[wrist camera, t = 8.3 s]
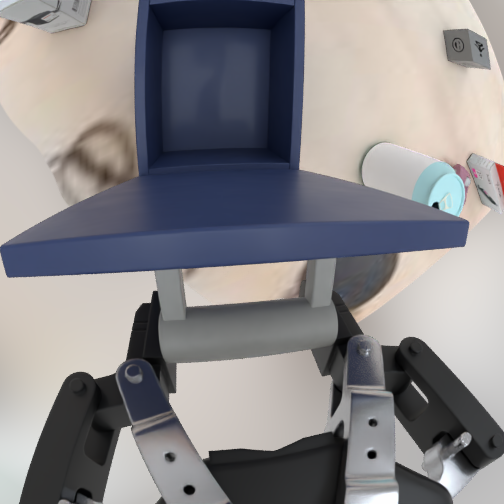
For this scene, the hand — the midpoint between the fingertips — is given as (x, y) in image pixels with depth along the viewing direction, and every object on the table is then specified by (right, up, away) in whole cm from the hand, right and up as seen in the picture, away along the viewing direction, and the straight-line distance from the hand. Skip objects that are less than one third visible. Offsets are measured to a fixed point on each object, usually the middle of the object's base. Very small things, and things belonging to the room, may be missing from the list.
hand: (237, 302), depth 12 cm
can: (+17, +13, +19) cm, 29 cm away
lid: (0, +5, 0) cm, 5 cm away
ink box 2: (+40, +15, +23) cm, 48 cm away
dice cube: (+30, +32, +11) cm, 45 cm away
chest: (-3, +18, +12) cm, 22 cm away
